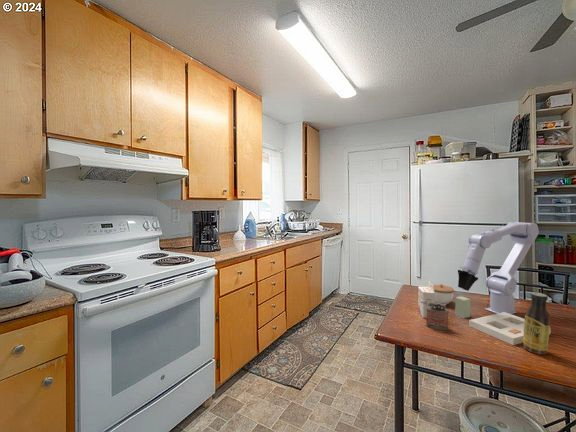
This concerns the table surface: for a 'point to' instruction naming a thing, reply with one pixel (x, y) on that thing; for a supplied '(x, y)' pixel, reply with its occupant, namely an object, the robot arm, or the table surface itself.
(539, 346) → the sauce bottle
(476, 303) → the table surface
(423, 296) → the ink cartridge box
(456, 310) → the peg
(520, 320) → the slot board
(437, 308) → the lighter
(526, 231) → the robot arm
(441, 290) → the lidded jar
